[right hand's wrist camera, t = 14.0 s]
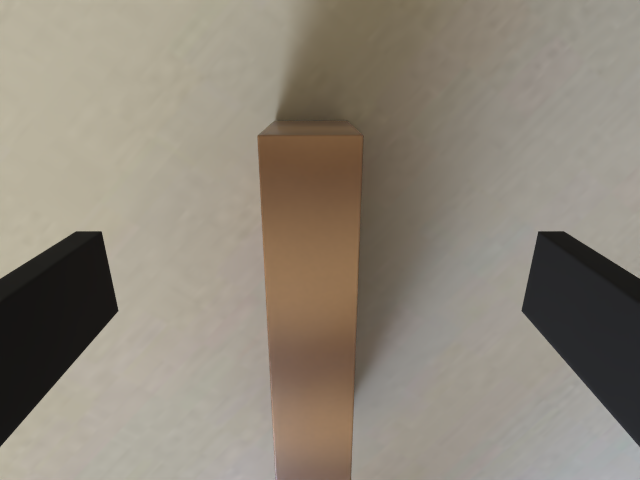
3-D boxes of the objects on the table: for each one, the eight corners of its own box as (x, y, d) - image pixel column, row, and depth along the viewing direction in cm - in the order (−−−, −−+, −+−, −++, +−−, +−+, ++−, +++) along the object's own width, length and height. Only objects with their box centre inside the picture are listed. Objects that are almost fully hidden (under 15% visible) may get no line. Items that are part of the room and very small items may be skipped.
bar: (273, 120, 26) (257, 134, 18) (347, 120, 26) (363, 134, 18) (285, 418, 35) (277, 517, 27) (341, 417, 35) (349, 516, 27)
